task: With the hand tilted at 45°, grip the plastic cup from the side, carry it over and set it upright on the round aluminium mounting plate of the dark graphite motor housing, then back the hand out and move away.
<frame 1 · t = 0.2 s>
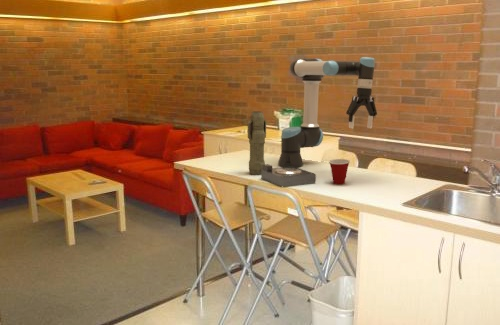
hand: (360, 128, 257), 28 cm above the kitchen counter, fingers open, 13 cm apart
plastic cup: (338, 183, 253), on the kitchen counter
thermos: (256, 173, 276), on the kitchen counter
motor housing: (287, 180, 258), on the kitchen counter
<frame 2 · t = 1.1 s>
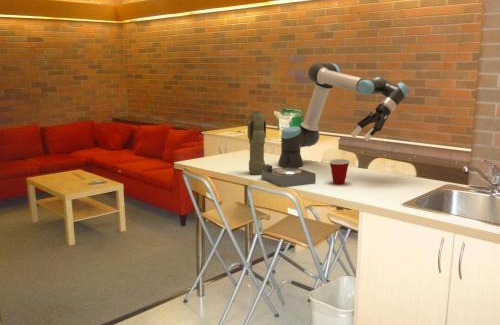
hand: (358, 137, 252), 23 cm above the kitchen counter, fingers open, 13 cm apart
nothing on the kitchen counter moved.
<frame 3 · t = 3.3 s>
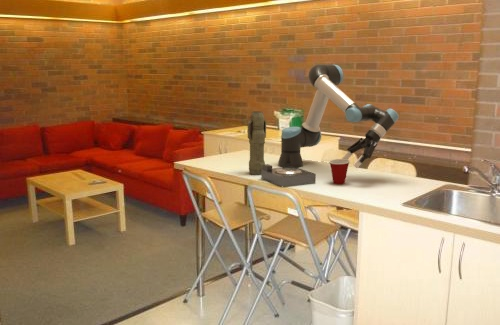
hand: (348, 164, 252), 10 cm above the kitchen counter, fingers open, 13 cm apart
nothing on the kitchen counter moved.
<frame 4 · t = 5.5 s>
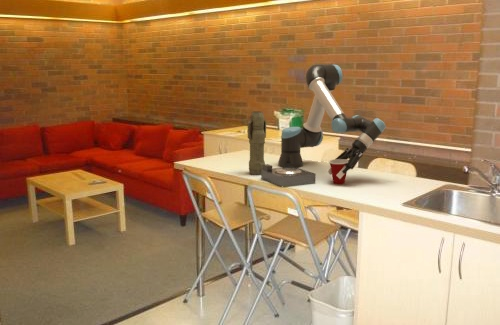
hand: (333, 175, 251), 4 cm above the kitchen counter, fingers closed on plastic cup, 10 cm apart
plastic cup: (338, 183, 253), on the kitchen counter, touching gripper
everything else where it was.
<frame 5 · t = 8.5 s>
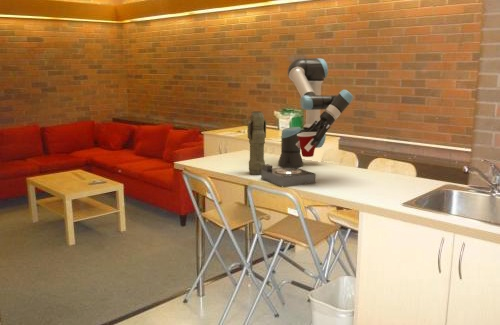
hand: (301, 148, 250), 18 cm above the kitchen counter, fingers closed on plastic cup, 10 cm apart
plastic cup: (307, 156, 251), point 14 cm above the kitchen counter, touching gripper
everything else where it was.
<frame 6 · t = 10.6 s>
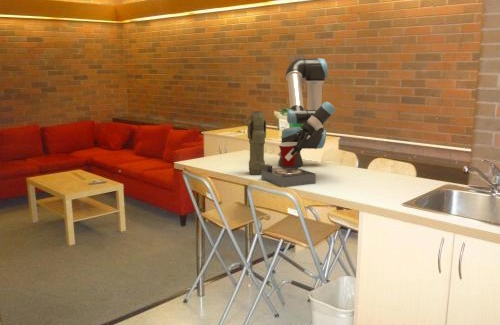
hand: (282, 157, 254), 13 cm above the kitchen counter, fingers closed on plastic cup, 10 cm apart
plastic cup: (288, 166, 256), point 8 cm above the kitchen counter, touching gripper
everything else where it was.
when the fingers open (11 cm above the kitchen counter, at t = 11.6 s): plastic cup moves 4 cm, resting on motor housing.
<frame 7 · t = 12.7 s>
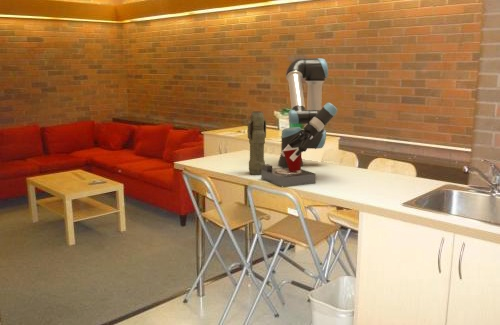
hand: (286, 157, 255), 13 cm above the kitchen counter, fingers open, 13 cm apart
plastic cup: (294, 171, 254), point 6 cm above the kitchen counter, touching gripper, motor housing
everything else where it was.
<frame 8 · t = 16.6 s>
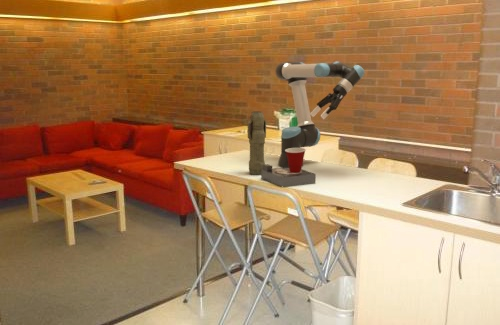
hand: (316, 116, 267), 33 cm above the kitchen counter, fingers open, 13 cm apart
plastic cup: (294, 172, 254), point 5 cm above the kitchen counter, touching motor housing
everything else where it was.
at the end: plastic cup inside the target area on the motor housing (4.2 cm from its centre), point 5.4 cm above the motor housing's base; plastic cup tilted 1°; the gripper is holding nothing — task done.
